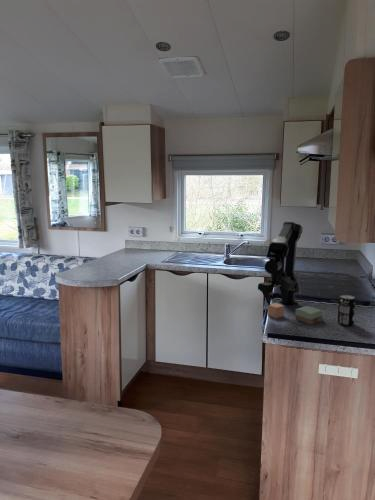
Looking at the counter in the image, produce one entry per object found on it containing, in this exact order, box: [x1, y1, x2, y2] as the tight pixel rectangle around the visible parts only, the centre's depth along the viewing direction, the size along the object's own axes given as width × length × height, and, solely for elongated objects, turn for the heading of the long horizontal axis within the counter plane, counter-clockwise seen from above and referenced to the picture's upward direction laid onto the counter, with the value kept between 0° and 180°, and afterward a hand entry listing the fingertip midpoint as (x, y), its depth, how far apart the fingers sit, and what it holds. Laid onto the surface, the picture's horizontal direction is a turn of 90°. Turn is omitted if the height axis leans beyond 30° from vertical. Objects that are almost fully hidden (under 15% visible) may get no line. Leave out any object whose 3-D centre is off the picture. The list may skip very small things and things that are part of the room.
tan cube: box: [267, 302, 285, 319], centre depth 176 cm, size 5×5×5 cm
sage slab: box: [295, 305, 323, 320], centre depth 171 cm, size 8×8×2 cm
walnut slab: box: [295, 315, 324, 325], centre depth 171 cm, size 8×8×2 cm
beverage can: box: [336, 294, 357, 327], centre depth 165 cm, size 7×7×12 cm
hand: (276, 303), depth 176 cm, fingers open, 9 cm apart
